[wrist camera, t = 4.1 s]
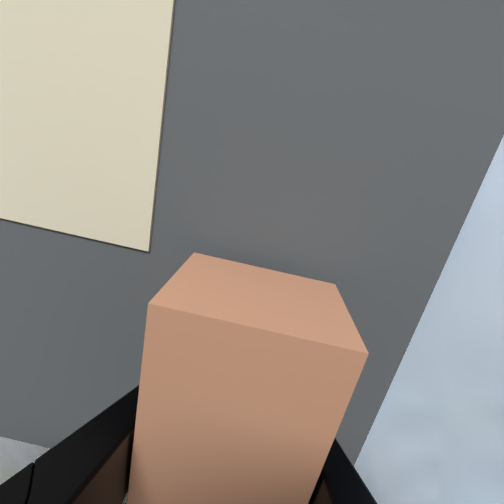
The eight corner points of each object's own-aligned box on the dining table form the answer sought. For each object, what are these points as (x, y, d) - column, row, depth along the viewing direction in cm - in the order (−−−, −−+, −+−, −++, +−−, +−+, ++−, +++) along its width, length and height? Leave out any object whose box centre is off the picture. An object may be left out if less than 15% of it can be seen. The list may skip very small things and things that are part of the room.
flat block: (270, 481, 10) (267, 602, 8) (162, 456, 10) (120, 567, 8) (335, 283, 8) (369, 353, 5) (193, 252, 8) (147, 303, 5)
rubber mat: (329, 504, 12) (331, 517, 11) (-84, 405, 12) (-98, 415, 12) (617, -148, 6) (649, -177, 5) (-235, -320, 6) (-280, -362, 6)
